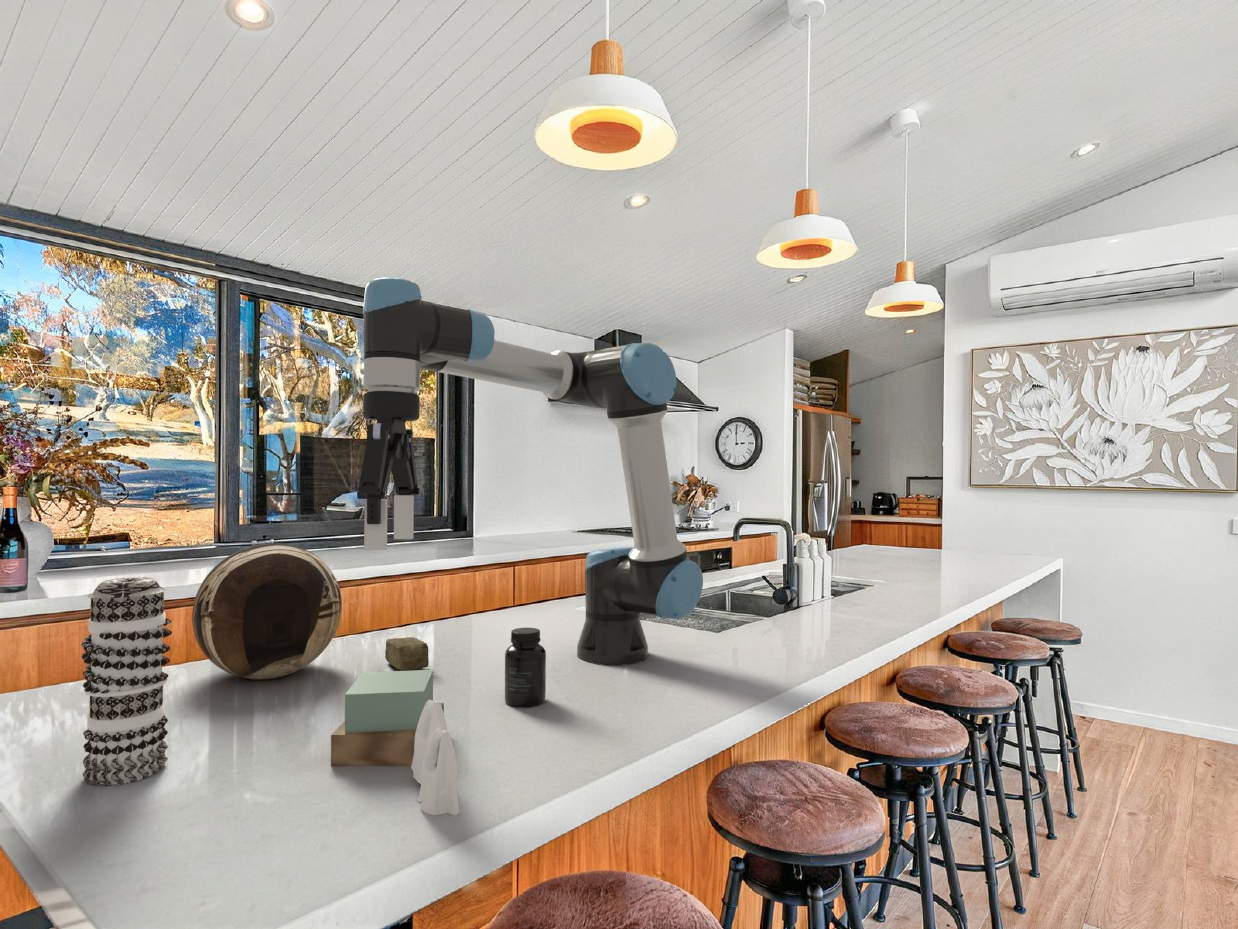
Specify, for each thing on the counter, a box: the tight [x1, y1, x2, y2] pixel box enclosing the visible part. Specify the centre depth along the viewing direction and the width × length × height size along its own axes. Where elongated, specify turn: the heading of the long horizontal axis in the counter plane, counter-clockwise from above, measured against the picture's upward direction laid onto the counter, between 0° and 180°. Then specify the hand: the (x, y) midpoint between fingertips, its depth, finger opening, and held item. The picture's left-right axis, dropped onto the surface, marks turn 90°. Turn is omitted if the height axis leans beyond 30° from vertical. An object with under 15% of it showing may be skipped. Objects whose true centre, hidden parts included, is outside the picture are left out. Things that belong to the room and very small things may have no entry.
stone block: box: [384, 636, 430, 671], centre depth 135 cm, size 6×12×5 cm, turn 33°
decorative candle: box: [81, 576, 173, 787], centre depth 87 cm, size 9×9×25 cm
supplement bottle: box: [504, 627, 547, 709], centre depth 117 cm, size 7×7×12 cm
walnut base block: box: [330, 702, 445, 767], centre depth 96 cm, size 12×12×5 cm
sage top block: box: [344, 669, 434, 733], centre depth 96 cm, size 10×10×5 cm
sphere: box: [191, 542, 343, 681], centre depth 130 cm, size 25×25×25 cm
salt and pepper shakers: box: [410, 699, 460, 816], centre depth 82 cm, size 12×4×11 cm, turn 23°
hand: (390, 544), depth 97 cm, fingers open, 13 cm apart
